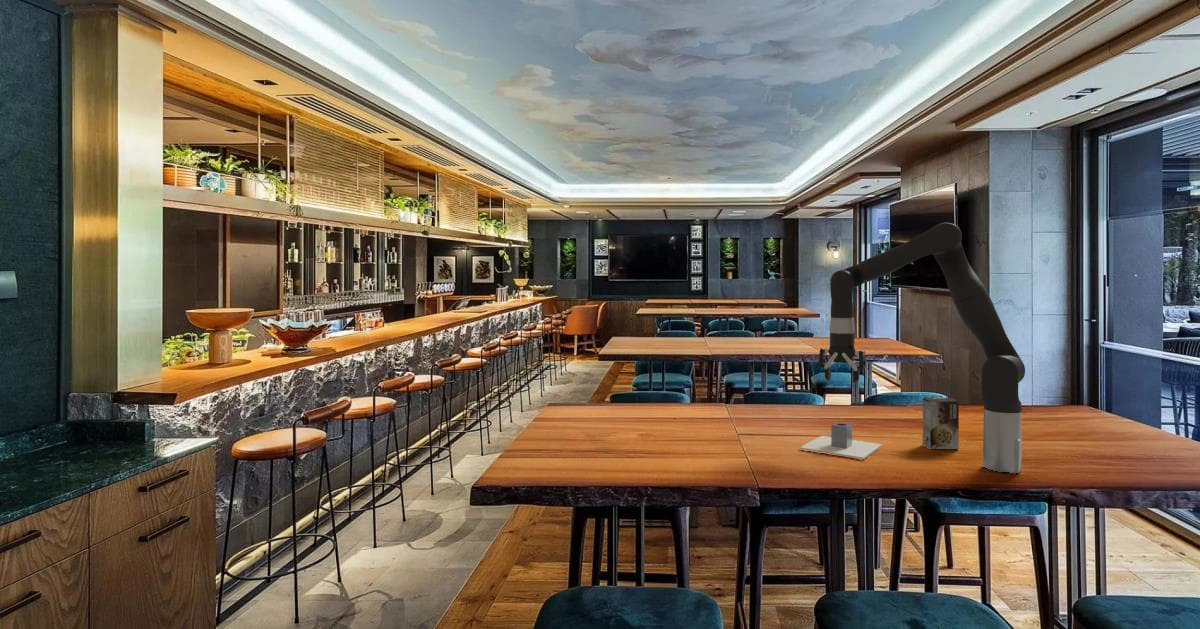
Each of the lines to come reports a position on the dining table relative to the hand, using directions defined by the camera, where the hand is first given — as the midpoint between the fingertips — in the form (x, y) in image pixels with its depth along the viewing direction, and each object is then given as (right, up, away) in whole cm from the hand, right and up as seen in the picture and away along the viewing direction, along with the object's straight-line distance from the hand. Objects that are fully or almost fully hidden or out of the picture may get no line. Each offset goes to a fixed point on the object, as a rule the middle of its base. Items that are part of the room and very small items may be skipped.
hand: (841, 381), depth 206 cm
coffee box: (+33, -22, +2) cm, 40 cm away
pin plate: (0, -22, +1) cm, 22 cm away
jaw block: (0, -21, +1) cm, 21 cm away
